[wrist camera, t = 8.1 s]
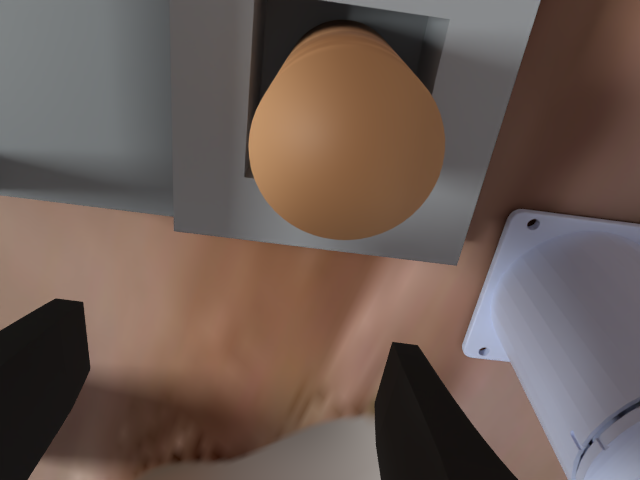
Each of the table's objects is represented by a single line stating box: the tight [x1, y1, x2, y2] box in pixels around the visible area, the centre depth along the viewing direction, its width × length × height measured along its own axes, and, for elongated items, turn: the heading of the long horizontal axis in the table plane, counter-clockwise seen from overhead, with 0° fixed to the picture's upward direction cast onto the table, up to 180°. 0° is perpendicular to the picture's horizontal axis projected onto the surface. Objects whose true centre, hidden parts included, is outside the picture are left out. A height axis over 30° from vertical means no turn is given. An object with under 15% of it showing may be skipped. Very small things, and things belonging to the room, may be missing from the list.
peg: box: [249, 20, 445, 240], centre depth 13 cm, size 4×4×8 cm
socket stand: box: [0, 0, 541, 266], centre depth 13 cm, size 21×12×10 cm, turn 83°
